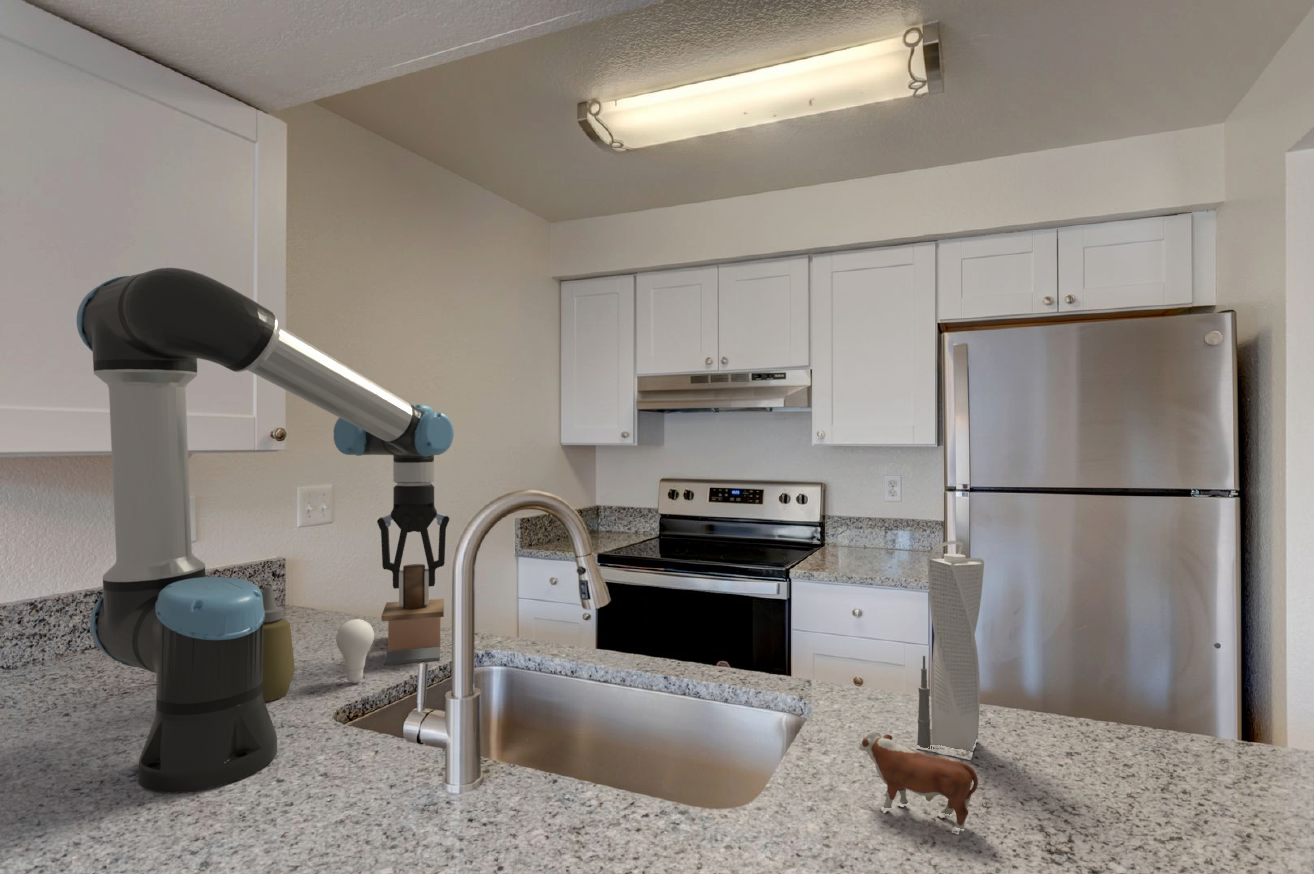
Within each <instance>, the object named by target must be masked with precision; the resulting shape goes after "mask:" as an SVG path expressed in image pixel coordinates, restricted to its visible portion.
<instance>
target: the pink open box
mask: <svg viewBox="0 0 1314 874" xmlns="http://www.w3.org/2000/svg"><path fill="white" fill-rule="evenodd" d="M441 618H442V617H436V618H422V619H409V620H395V621H387V622H388V624H387V626H388V630H387V631H388V633H387V634H388V635H387V641H388V642H387V643H388V644H387V646H388V647H387V651H396V650H409V649H422V648H435V647H440V648H441V637H442V636H441V635H442V633H441V631H442V625H441V624H442V619H441Z"/></svg>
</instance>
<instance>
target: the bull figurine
mask: <svg viewBox="0 0 1314 874" xmlns="http://www.w3.org/2000/svg"><path fill="white" fill-rule="evenodd" d="M858 747H859V750H861V751H862V752H866V753H867V754H868V756H869V758H870V760H871V761H872V762H873V763H874V764H875V765H874V766H875V769H876V771H877V774H878V777H879V778H881V780H882V782H883V783H884V784H885V785H886V789H887V791H886V792H885V798H886V800H885V801H884V803H883V805H882V806H883V807H884V808H892V809H893V807H892V806H893V805H892V803H893V801H894V799H896V795H897V794H898V793H899V795H900V799H899V801H900V802H901V803H902V804H907V803H908V802H909V800H908V799H907V790H908V791H910V792H912V793H914V794H917V795H919V796H923V797H924V798H925V800H926V802H931V801H932V800H933V799H934V798H935V797H936V796H943V797H945V798H946V799H947V800H948V801H947V804H946V805H945V807H944V808H943V809H941V810H940V811H941V813H945V814H949V815H950V814H952V815H953V814H954V813H955V817H956V821H955V823H954V825H955V826H956V827H957V828H960V829H964V830H965V822H966V819H967V817H968V815H969V810H968V807H969V805H970V801H971V797H972V795H973V794H974V793H975V792H976V791H977V788H978V785H979V778H978V775H977V773H976V772H975V770H974V769H973V768H972V767H971V765H969V764H967V763H965V762H960V761H957V760H952V759H951V760H950V759H948V758H944V757H941V756H940V757H939V756H935V755H930V754H929V755H928V754H925V753H923V752H918V751H916V750H914V749H912V748H909V747H907V746H904V745H900V744H898V743H896V742H895V741H893V736H892V735H890V734H885V735H883V736H882V735H881V732H879V731H878V730H877V729H873V730H870V731H869V732H867V733H866V734H865V735H863V739H862V740H861V742H860V743H859V746H858ZM972 783H973V785H972ZM953 812H954V813H953Z"/></svg>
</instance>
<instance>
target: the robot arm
mask: <svg viewBox="0 0 1314 874" xmlns="http://www.w3.org/2000/svg"><path fill="white" fill-rule="evenodd" d="M76 327H77V332H78V335H79V336H80V339H81V341H82V342H83V343H84V345H85V346H86V347H87V348H88V349H89V350H90V351H91V352H92V363H93V364H92V367H93V375H95V376H96V377H97V378H98V379H99V380H100V381H102V382H103V383H105V384H106V385H107V388H108V397H109V418H110V422H109V423H110V440H111V441H110V443H111V467H112V468H111V472H112V488H113V489H112V490H113V514H114V516H113V517H114V533H115V534H114V535H115V536H114V537H115V540H114V541H115V557H116V559H115V563H114V564H113V566H111V568H109V569H108V570H107V571H106V572H105V573H104V574H103V576H102V596H101V597H100V599H99V600H97V601H96V603H95V605H94V607H93V609H92V612H91V615H90V623H89V626H90V633H91V637H92V639H93V641H94V643H95V645H96V646H97V648H98V649H100V650H101V651H102V652H103V653H104V654H105V655H107V656H108V657H110V658H111V659H112V660H113V661H115V662H117V663H120V664H122V665H124V666H128V667H133V668H138V669H142V670H144V671H148V672H151V673H154V674H156V689H155V690H156V693H155V694H156V698H155V700H156V703H155V704H156V705H155V707H156V708H155V709H156V710H155V716H154V720H153V722H152V725H151V728H150V730H149V733H148V735H147V739H146V741H145V743H144V746H143V748H142V751H141V753H140V754H141V755H140V756H139V757H140V758H139V759H138V763H137V764H138V767H137V769H138V770H137V783H138V784H139V786H140V787H142V788H143V789H145V790H148V791H152V792H156V793H169V794H170V793H188V792H195V791H200V790H201V791H202V790H207V789H211V788H215V787H219V786H223V785H227V784H230V783H232V782H236V781H238V780H239V781H240V780H241V779H243V778H246V777H248V776H250V775H252V774H254V773H256V772H259V771H260V770H261V769H264V768H265V767H266V766H268V765H269V764H270V763H271V762H272V761H273V760H274V759H275V757H276V756H277V753H278V735H277V731H276V728H275V726H274V723H273V721H272V717H271V716H270V713H269V710H268V708H267V707H268V706H267V705H266V701H264V699H263V692H262V686H263V621H264V618H265V611H264V606H263V597H262V594H263V592H262V590H261V589H260V588H259V586H257V585H256V584H255V583H253V582H251V581H249V580H246V579H242V578H237V577H222V576H206V563H204V562H203V561H202V560H200V559H199V558H198V557H196V556H195V555H194V554H193V549H192V547H193V546H192V545H193V544H192V524H191V523H192V522H191V521H192V520H191V503H190V501H191V500H190V499H191V498H190V495H191V494H190V471H189V470H190V469H189V448H188V447H189V446H188V427H187V426H188V424H187V419H188V418H187V400H186V399H187V397H186V395H187V394H186V387H187V386H188V384H189V383H191V382H192V381H193V380H194V379H195V378H196V377H197V376H198V359H200V360H203V361H208V362H211V363H212V362H213V363H215V364H217V365H220V366H222V367H224V368H226V369H228V370H229V371H230V370H231V372H234V373H235V372H236V373H241V372H244V371H248V372H251V373H252V374H254V375H256V376H258V377H260V378H262V379H264V380H265V381H267V382H270V383H272V384H274V385H276V386H277V387H280V388H281V389H283V390H285V391H288V392H289V393H291V394H293V395H295V396H297V397H298V398H300V399H303V400H305V401H307V402H309V403H311V404H313V405H315V406H316V407H318V408H320V409H322V410H324V411H326V412H328V413H330V414H332V415H333V416H336V417H338V418H337V420H336V422H335V424H334V426H333V442H334V445H335V447H336V449H338V451H339V452H340V453H341V454H343V455H346V456H356V457H357V456H359V457H361V456H392V457H393V459H392V460H393V462H392V464H393V465H392V467H393V469H392V471H393V473H392V475H393V477H392V478H393V479H392V480H393V482H394V483H395V484H396V485H394V486H393V488H392V489H393V502H392V503H393V508H392V509H391V512H390V514H388V515H385V516H381V517H379V518H378V519H377V521H376V522H377V525H378V527H379V530H380V538H381V539H380V540H381V561H382V563H381V564H382V569H383V570H387V571H391V574H392V587H393V589H398V602H399V607H401V606H403V569H401V564H402V560H403V556H404V550H405V546H406V541H407V537H408V533H412V532H416V533H420V537H421V539H422V545H423V549H424V554H425V559H426V564H427V568H425V605H429V600H430V587H435V584H436V570H437V569H438V568H440V567H443V566H445V564H446V563H445V562H446V561H445V559H446V558H445V557H446V535H447V534H446V532H447V526H448V524H449V522H450V516H449V515H448V514H443V513H439V512H438V511H437V509H436V507H435V486H434V485H433V484H432V483H433V482H435V456H440V455H442V454H444V453H446V452H447V451H448V450H449V449H450V447H451V446H452V444H453V439H454V435H455V432H454V431H455V430H454V425H453V423H452V421H451V420H450V418H449V417H448V416H447V415H446V414H444V413H442V412H439V411H434V409H433V408H432V407H431V406H430V405H427V404H412V403H409V402H408V401H406V400H405V399H403V398H401V397H400V396H398V395H396V394H395V393H393V392H391V391H389V390H387V389H386V388H384V387H383V386H381V385H380V384H378V383H376V382H375V381H373V380H371V379H370V378H367V377H366V376H364V375H362V374H361V373H360V372H358V371H356V370H355V369H353V368H352V367H349V366H347V365H346V364H344V363H343V362H341V361H340V360H338V359H336V358H334V357H333V356H331V355H330V354H328V353H326V352H324V351H323V350H322V349H320V348H318V347H316V346H315V345H314V344H311V343H310V342H308V341H307V340H305V339H303V338H302V337H300V336H298V335H297V334H295V333H293V332H292V331H290V330H288V329H286V328H285V327H283V326H281V325H280V324H279V321H278V317H277V315H276V314H275V313H274V312H273V311H271V310H269V309H267V308H266V307H264V306H263V305H261V304H259V303H258V302H257V301H255V300H253V299H251V298H249V297H248V296H246V295H244V294H242V293H241V292H239V291H237V290H235V289H234V288H232V287H230V286H228V285H226V284H224V283H222V282H220V281H218V280H216V279H214V278H211V277H209V276H207V275H205V274H203V273H199V272H195V271H193V270H189V269H184V268H177V267H161V268H155V269H152V270H149V271H146V272H142V273H138V274H134V275H133V274H132V275H123V276H119V277H118V276H117V277H113V278H112V279H110V280H106V281H105V282H103V283H101V284H100V285H98V286H95V288H93V289H92V290H91V291H89V292H88V293H87V294H86V295H85V296H84V298H83V299H82V301H81V302H80V304H79V305H78V309H77V314H76ZM435 519H436V524H437V525H439V531H438V533H439V534H438V535H439V536H438V553H437V554H438V556H437V557H438V558H437V560H435V558H434V553H433V548H432V544H431V539H430V535H429V530H428V529H429V527H430V525H431V524H432V522H434V520H435ZM392 521H393V522H394V523H395V524H396V526H397V527H398V528H399V529H400V531H399V532H400V533H399V537H398V541H397V547H396V552H395V556H394V562H391V551H390V549H391V548H390V530H389V527H390V526H391V523H392Z"/></svg>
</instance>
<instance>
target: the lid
mask: <svg viewBox="0 0 1314 874" xmlns="http://www.w3.org/2000/svg"><path fill="white" fill-rule="evenodd" d="M402 567H403V569H402V570H403V606H401V607H399V601H393V602H392V601H391V602H390V601H389V602H385V606H384V608H383V610H382V614H381V622H388V621H395V620H409V619H422V618H436V617H441V618H444V616H445V615H444V613H445V612H444V611H445V610H444V608H445V599H444V598H435V599H429V605H425V569H426V565H425V564H424V563H423V564H422V563H414V564H405V565H403V566H402Z"/></svg>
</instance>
